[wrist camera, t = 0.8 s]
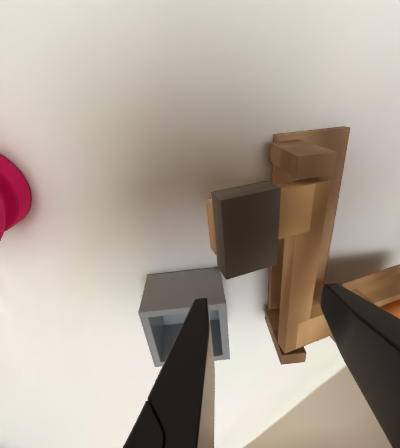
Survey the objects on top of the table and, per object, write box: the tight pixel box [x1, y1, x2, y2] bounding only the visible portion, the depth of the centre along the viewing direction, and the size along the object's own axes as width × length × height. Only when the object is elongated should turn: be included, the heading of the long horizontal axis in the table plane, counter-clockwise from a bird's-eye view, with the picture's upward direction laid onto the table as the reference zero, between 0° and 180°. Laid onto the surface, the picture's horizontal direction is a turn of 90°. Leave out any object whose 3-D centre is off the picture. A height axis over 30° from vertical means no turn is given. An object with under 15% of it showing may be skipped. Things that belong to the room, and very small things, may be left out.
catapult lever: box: [206, 177, 400, 353], centre depth 17 cm, size 17×16×3 cm
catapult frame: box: [265, 126, 350, 364], centre depth 19 cm, size 6×18×6 cm, turn 6°
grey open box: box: [139, 267, 230, 367], centre depth 22 cm, size 7×7×4 cm
